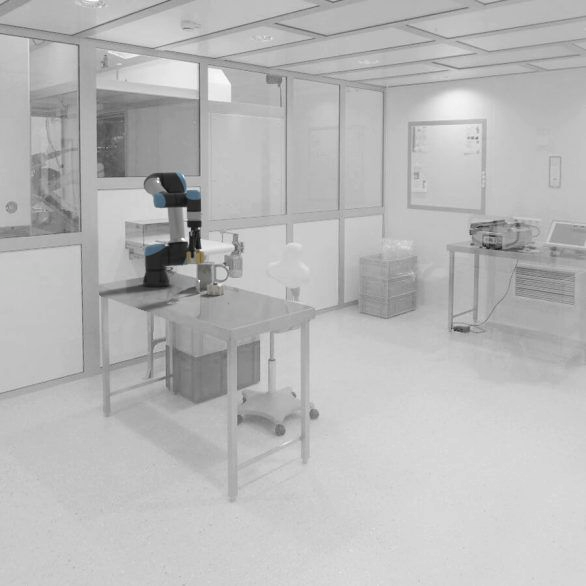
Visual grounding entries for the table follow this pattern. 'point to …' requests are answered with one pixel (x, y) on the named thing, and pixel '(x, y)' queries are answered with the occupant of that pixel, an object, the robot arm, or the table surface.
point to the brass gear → (198, 257)
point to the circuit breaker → (206, 274)
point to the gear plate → (197, 287)
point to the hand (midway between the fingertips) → (195, 262)
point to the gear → (215, 289)
